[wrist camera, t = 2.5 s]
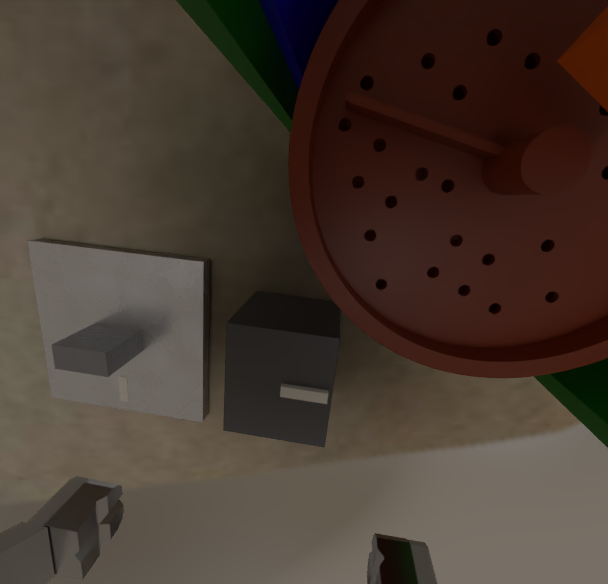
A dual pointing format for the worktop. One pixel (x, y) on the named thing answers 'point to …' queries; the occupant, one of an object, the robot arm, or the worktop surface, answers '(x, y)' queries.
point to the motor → (447, 173)
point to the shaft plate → (124, 327)
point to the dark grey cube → (281, 367)
